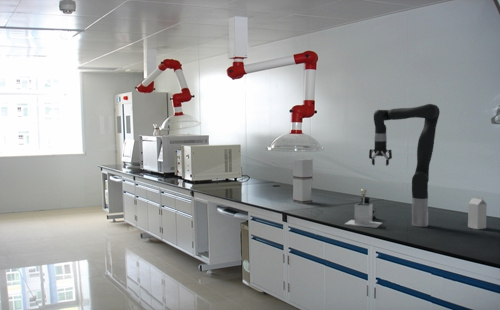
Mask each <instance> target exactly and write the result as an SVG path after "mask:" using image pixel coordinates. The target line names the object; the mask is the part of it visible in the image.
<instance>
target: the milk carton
mask: <svg viewBox="0 0 500 310" xmlns="http://www.w3.org/2000/svg"><path fill="white" fill-rule="evenodd" d="M467 208H468V210H467V214H468V215H467V217H468V218H467V228H471V229H474V230H483V229H487V202H486V201H485V200H484V198H483V197H481V196H476V195H475V196H474V195H473V196H472V198H471V199H470V201H469V202H468V207H467Z"/></svg>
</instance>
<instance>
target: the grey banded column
mask: <svg viewBox="0 0 500 310" xmlns="http://www.w3.org/2000/svg"><path fill="white" fill-rule="evenodd" d="M292 161H293V162H292V163H293V164H292V168H293V169H292V172H293V173H292V175H293V177H292V189H293V190H292V202H293V203H297V204H301V205H303V204H311V203H313V199H312V181H313V175H314V174H313V171H314V169H313V165H314V164H313V159H312V158H302V159H298V158H297V159H296V158H293V159H292Z"/></svg>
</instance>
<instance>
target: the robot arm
mask: <svg viewBox="0 0 500 310" xmlns="http://www.w3.org/2000/svg"><path fill="white" fill-rule="evenodd" d="M439 117H440V108H439V106H437V105H436V104H434V103H427V104H424V105H420V106H415V107H402V108H401V107H400V108H399V107H398V108H391V109H377V110H375V111H374V113H373V123H374V149H371V148H370V149H369V150H368V151H369V155H368V159H371V165H372V166H375V164H376V161H375V160H376V158H377V157H384V158H385V165H386V166H387V167H388V166H389V164H390V160H391V159H392V158H393V154H392V149H387V139H388V138H387V125H386V124H385V121H391V120H393V121H394V120H396V121H397V120H398V121H399V120H407V119H412V118H419V119H424V124H423V128H422V131H421V133H420V135H419V137H418V142H417V147H416V161H417V162H416V168H415V172H414V174H413V175H412V177H411V178H412V179H411V196H412V197H411V226H414V227H421V228H424V227H426V228H427V227H428V226H429V210H428V209H429V207H428V205H429V192H428V190H429V189H428V188H429V186H428V184H429V180H430V179H429V178H430V176H429V175H430V164H431V160H432V156H433V151H434V145H435V140H436V139H435V138H436V129H437V124H438V121H439ZM373 152H374V155H373ZM387 154H388V155H387Z"/></svg>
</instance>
